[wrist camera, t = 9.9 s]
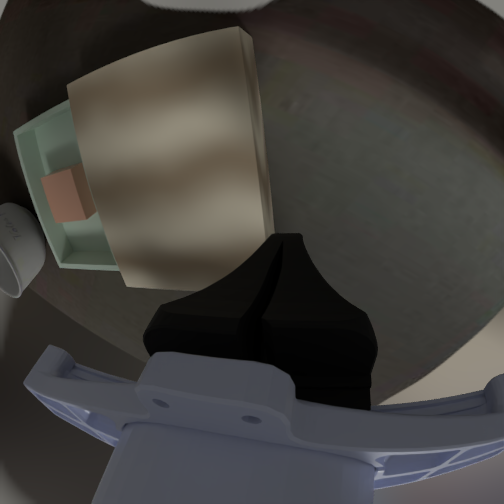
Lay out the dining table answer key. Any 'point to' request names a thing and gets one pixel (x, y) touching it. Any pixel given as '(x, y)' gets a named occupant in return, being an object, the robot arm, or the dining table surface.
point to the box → (35, 167)
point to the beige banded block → (177, 159)
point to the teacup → (19, 248)
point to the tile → (69, 194)
